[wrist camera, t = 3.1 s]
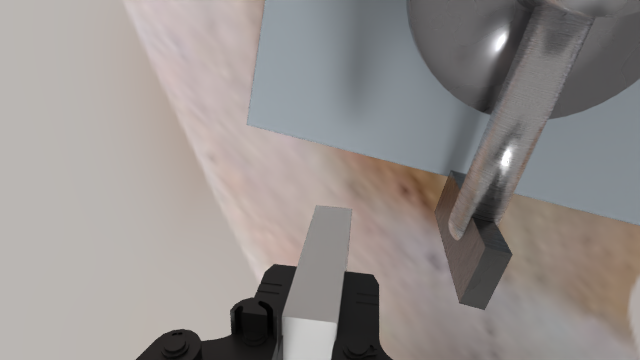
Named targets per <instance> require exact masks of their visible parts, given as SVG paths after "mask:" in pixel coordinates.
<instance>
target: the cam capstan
mask: <svg viewBox="0 0 640 360" xmlns="http://www.w3.org/2000/svg"><path fill="white" fill-rule="evenodd" d="M406 5H407V17H408V23H409V28H410V32H411V35H412V39H413V42H414V44H415V46H416V49H417V51H418V53H419V55H420V57H421V59H422V60H423V62H424V63H425V65H426V67H427V68H428V69H429V70H430V72H431V73H432V74H433V75H434V76H435V78H436V79H437V80H438V81H439V82H440V83H441V85H442V86H443V87H444V88H445V89H446V90H448V91H449V92H450V93H451V94H452V95H453V96H454V97H456V98H457V99H459V100H460V101H462V102H463V103H465V104H466V105H468V106H470V107H472V108H474V109H476V110H478V111H480V112H482V113H485V114H488V115H491V116H490V119H489V121H488V124H487V126H486V128H485V131H484V133H483V136H482V138H481V141H480V143H479V146H478V148H477V151H476V153H475V155H474V158H473V160H472V163H471V165H470V168H469V170H468V173H467V174H464V173H460V172H457V171H453V170H451V171H450V173H449V176H448V179H447V181H446V184H445V186H444V189H443V191H442V194H441V197H440V199H439V202H438V204H437V207H436V210H435V216H436V220H437V223H438V227H439V231H440V234H441V238H442V242H443V245H444V249H445V252H446V256H447V260H448V263H449V267H450V271H451V274H452V278H453V282H454V285H455V289H456V293H457V296H458V300H459V303H460V304H464V305H468V306H472V307H475V308H479V309H483V310H485V308H486V306H487V304H488V302H489V300H490V298H491V296H492V294H493V292H494V290H495V288H496V286H497V284H498V282H499V280H500V278H501V276H502V274H503V272H504V270H505V268H506V266H507V264H508V262H509V260H510V258H511V256H512V255H513V254H512V253H511V251H510V249H509V247H508V245H507V243H506V242H505V240H504V238H503V236H502V234H501V232H500V231H499V229H498V225H499V223H500V221H501V219H502V217H503V215H504V213H505V210H506V208H507V206H508V204H509V202H510V200H511V198H512V195H513V193H514V191H515V189H516V187H517V185H518V183H519V181H520V178H521V176H522V174H523V172H524V170H525V168H526V166H527V164H528V161H529V159H530V157H531V155H532V153H533V151H534V149H535V147H536V144H537V142H538V140H539V138H540V136H541V134H542V132H543V129H544V127H545V125H546V123H547V121H548V120H550V119H555V118H561V117H566V116H569V115H572V114H576V113H579V112H582V111H585V110H587V109H589V108H592V107H594V106H597V105H599V104H601V103H603V102H605V101H607V100H608V99H610V98H612V97H614V96H616V95H618V94H619V93H621V92H622V91H623V90H625V89H626V88H628V87H629V86H631V85H632V84H634V83H635V82H636V81H637V80H639V79H640V0H406Z"/></svg>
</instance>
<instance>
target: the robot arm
mask: <svg viewBox="0 0 640 360" xmlns="http://www.w3.org/2000/svg"><path fill="white" fill-rule="evenodd" d="M351 216H352V209H347V208H337V207H327V206H317V205H316V208H315V211H314V214H313V217H312V221H311V224H310V227H309V230H308V234H307V237H306V240H305V243H304V246H303V250H302V253H301V256H300V259H299V263H298V266H297V267H295V266H286V265H278V264H274V265H273V266H272V267H270V268H269V269H268V270H267V271H266V272H265V273H264V276H263V278H262V280H261V284H260V285H259V287H258V290H257V292H256V295H255V297H254V298H248V299H245V300H242V301H240V302H238V303H237V304H235V305H234V306H233V308H232V309H231V310H230V315H231V332H232V334H231V335H229V336H227V337H224V338H220V339H215V340H207V341H201V340H200V338H199V336H198V335H197V334H196V333H194V332H193V331H191V330H185V329H180V330H173V331H170V332H168V333H165V334H163V335H162V336H161V337H159V338H158V339H156V340H155V341H154V342H153V343H152V344H151V345H150V346H149V347H148V348H147V349H146V350H145V351H144V352H143V353H142V354H141V355H140V356H139V357H138V358H137V359H136V360H393V359H391V358H390V357H389V356H388V355H387V354H386V353H385V352H384V351H383V349H382V347H381V345H380V340H379V284H378V282H377V280H376V279H375V277H374V275H372V274H363V273H355V272H347V263H348V251H349V240H350V228H351Z"/></svg>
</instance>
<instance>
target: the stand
mask: <svg viewBox="0 0 640 360" xmlns="http://www.w3.org/2000/svg"><path fill="white" fill-rule="evenodd" d="M490 116H491V115H488V114H485V113H482V112H480V111H478V110H476V109H474V108H472V107H470V106H468V105H466V104H465V103H463V102H462V101H460V100H459V99H457V98H456V97H454V96H453V95H452V94H451V93H450V92H449V91H448V90H446V89H445V88H444V87H443V86H442V85H441V83H440V82H439V81H438V80H437V79H436V78H435V76H434V75H433V74H432V73H431V72H430V70H429V69H428V68H427V67H426V65H425V63H424V62H423V60H422V59H421V57H420V55H419V53H418V51H417V49H416V46H415V44H414V42H413V39H412V35H411V32H410V28H409V23H408V17H407V5H406V0H265V6H264V13H263V20H262V26H261V33H260V40H259V46H258V53H257V59H256V66H255V73H254V79H253V86H252V93H251V99H250V106H249V113H248V119H247V125H249V126H253V127H257V128H261V129H265V130H269V131H273V132H277V133H280V134H284V135H288V136H292V137H296V138H300V139H304V140H308V141H312V142H316V143H319V144H323V145H327V146H331V147H335V148H339V149H343V150H347V151H351V152H355V153H358V154H362V155H366V156H370V157H374V158H378V159H382V160H386V161H390V162H394V163H397V164H401V165H405V166H409V167H413V168H417V169H421V170H425V171H429V172H433V173H436V174H440V175H444V176H449V173H450V171H451V170H453V171H457V172H460V173H464V174H467V173H468V170H469V168H470V165H471V163H472V160H473V158H474V155H475V153H476V151H477V148H478V146H479V143H480V141H481V138H482V136H483V133H484V131H485V128H486V126H487V124H488V121H489V119H490ZM514 194H518V195H522V196H526V197H530V198H534V199H538V200H542V201H546V202H549V203H553V204H557V205H561V206H565V207H569V208H573V209H577V210H581V211H585V212H588V213H592V214H596V215H600V216H604V217H608V218H612V219H616V220H620V221H624V222H627V223H631V224H635V225H639V226H640V79H639V80H637V81H636V82H635V83H634V84H632V85H631V86H629V87H628V88H626V89H625V90H623V91H622V92H621V93H619V94H618V95H616V96H614V97H612V98H610V99H608V100H607V101H605V102H603V103H601V104H599V105H597V106H594V107H592V108H589V109H587V110H585V111H582V112H579V113H576V114H572V115H569V116H566V117H561V118H555V119H550V120H548V121H547V123H546V125H545V127H544V129H543V132H542V134H541V136H540V138H539V140H538V142H537V144H536V147H535V149H534V151H533V153H532V155H531V157H530V159H529V161H528V164H527V166H526V168H525V170H524V172H523V174H522V176H521V178H520V181H519V183H518V185H517V187H516V189H515V191H514Z"/></svg>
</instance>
